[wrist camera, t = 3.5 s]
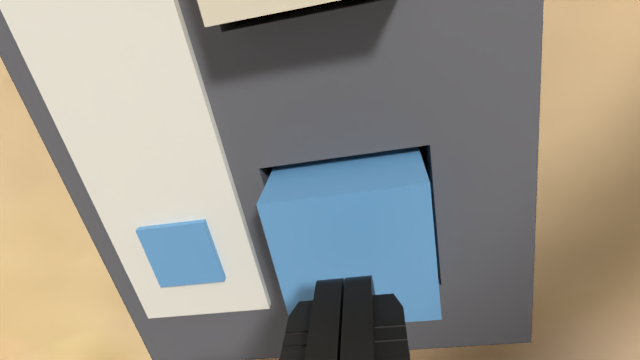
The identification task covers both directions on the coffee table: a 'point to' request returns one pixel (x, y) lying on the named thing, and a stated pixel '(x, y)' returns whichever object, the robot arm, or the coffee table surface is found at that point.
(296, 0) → the button sand
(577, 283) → the coffee table surface
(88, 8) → the button board
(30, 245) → the coffee table surface
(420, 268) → the button blue
